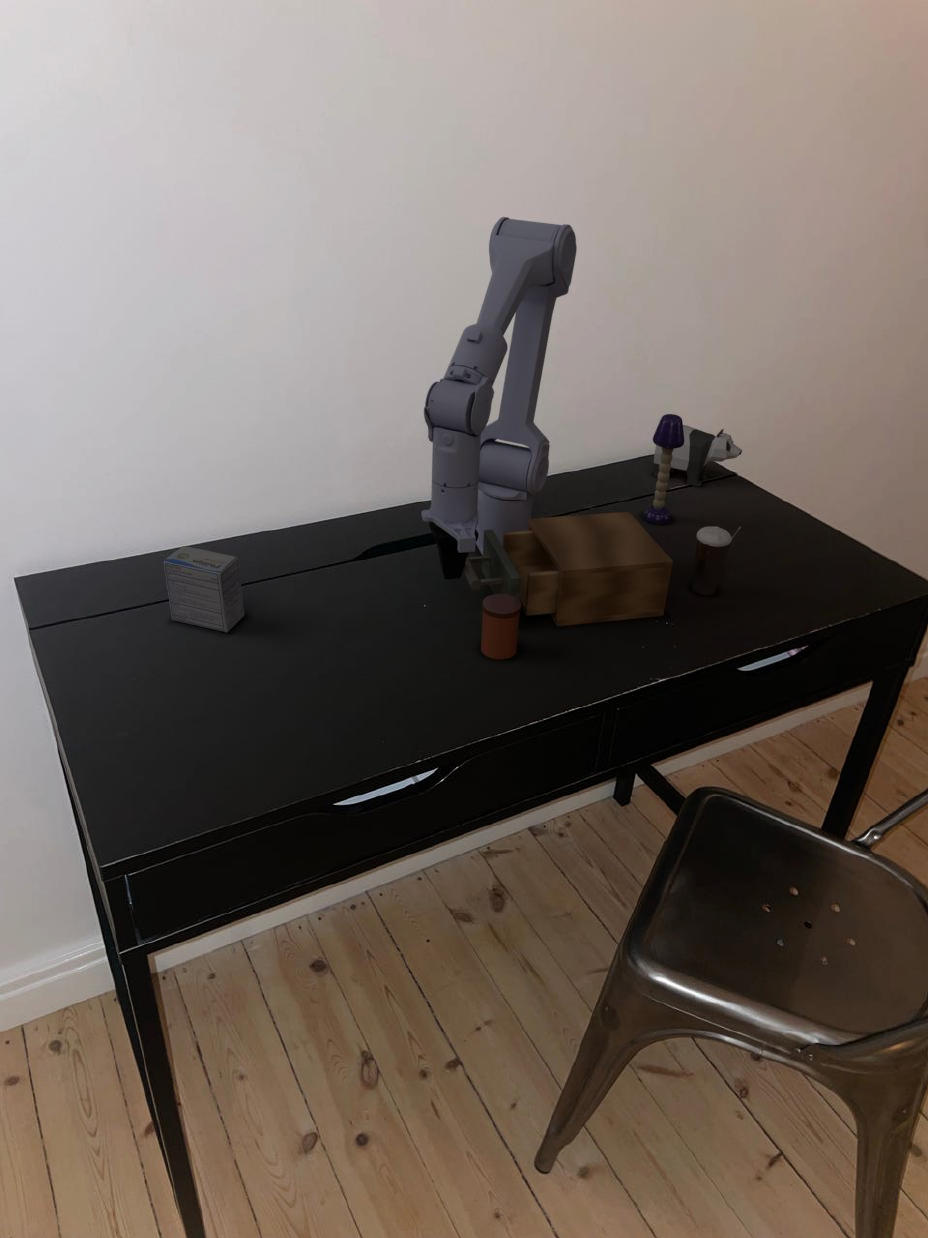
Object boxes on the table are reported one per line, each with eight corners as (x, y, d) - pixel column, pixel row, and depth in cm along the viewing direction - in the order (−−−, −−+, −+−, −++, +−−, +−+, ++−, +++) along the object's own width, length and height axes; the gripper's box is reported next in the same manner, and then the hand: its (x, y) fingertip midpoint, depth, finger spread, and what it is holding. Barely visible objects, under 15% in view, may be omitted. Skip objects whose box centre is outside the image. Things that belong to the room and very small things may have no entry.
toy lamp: (673, 526, 147) (691, 422, 138) (643, 525, 147) (659, 421, 138) (668, 513, 151) (685, 411, 142) (638, 511, 151) (653, 410, 142)
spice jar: (485, 661, 114) (488, 615, 110) (475, 641, 118) (478, 595, 114) (522, 658, 115) (526, 611, 111) (511, 637, 119) (515, 592, 115)
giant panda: (645, 475, 164) (653, 421, 159) (656, 464, 168) (664, 412, 163) (729, 495, 158) (740, 440, 153) (738, 483, 162) (749, 430, 157)
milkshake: (727, 600, 128) (741, 534, 123) (686, 595, 129) (699, 528, 124) (726, 584, 132) (740, 519, 127) (686, 579, 133) (699, 514, 128)
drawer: (475, 625, 119) (477, 581, 116) (451, 573, 130) (452, 532, 127) (609, 612, 123) (615, 569, 119) (575, 563, 134) (579, 522, 130)
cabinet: (556, 626, 121) (562, 570, 117) (523, 571, 133) (528, 518, 129) (663, 616, 124) (673, 561, 120) (621, 562, 136) (629, 511, 132)
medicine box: (245, 617, 120) (239, 556, 116) (226, 634, 117) (220, 572, 112) (190, 604, 122) (183, 544, 118) (170, 621, 119) (161, 559, 114)
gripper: (411, 457, 121) (410, 552, 128) (435, 506, 109) (432, 607, 117) (465, 454, 123) (461, 548, 130) (495, 502, 111) (488, 602, 118)
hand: (451, 576), depth 123 cm, fingers closed, pressing on drawer
